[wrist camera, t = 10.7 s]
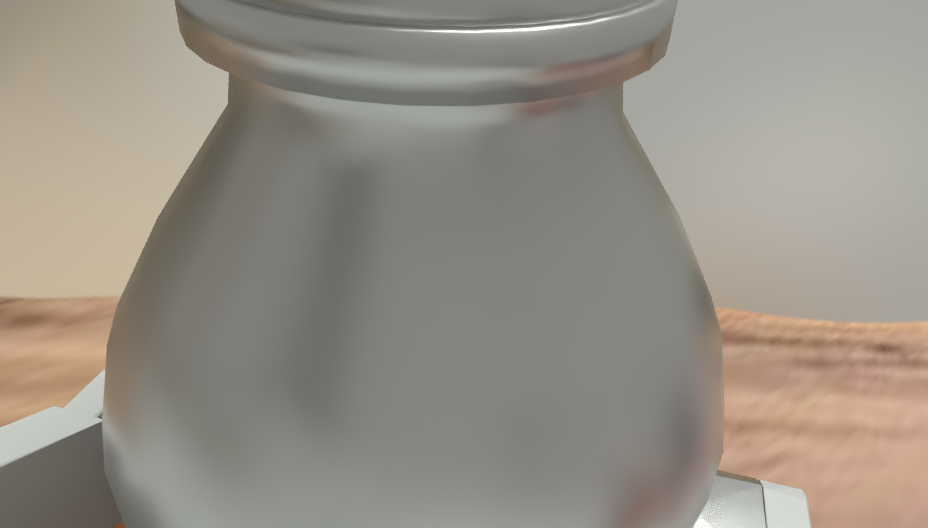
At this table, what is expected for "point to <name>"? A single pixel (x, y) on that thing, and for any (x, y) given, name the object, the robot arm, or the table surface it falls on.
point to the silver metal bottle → (417, 282)
